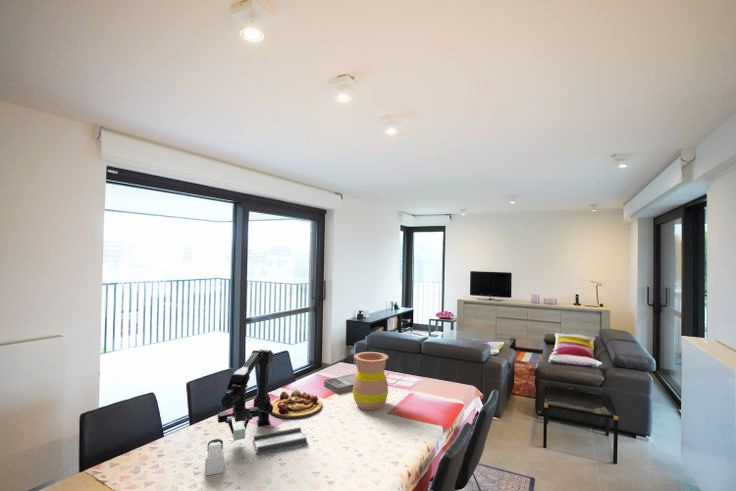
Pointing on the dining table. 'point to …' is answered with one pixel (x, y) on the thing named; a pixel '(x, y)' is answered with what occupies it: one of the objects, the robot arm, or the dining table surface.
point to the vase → (370, 381)
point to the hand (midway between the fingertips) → (238, 432)
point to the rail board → (279, 441)
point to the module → (238, 431)
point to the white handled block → (214, 457)
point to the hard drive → (340, 383)
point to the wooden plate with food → (296, 405)
